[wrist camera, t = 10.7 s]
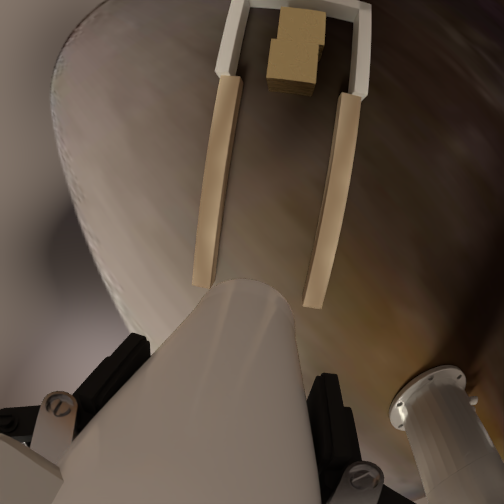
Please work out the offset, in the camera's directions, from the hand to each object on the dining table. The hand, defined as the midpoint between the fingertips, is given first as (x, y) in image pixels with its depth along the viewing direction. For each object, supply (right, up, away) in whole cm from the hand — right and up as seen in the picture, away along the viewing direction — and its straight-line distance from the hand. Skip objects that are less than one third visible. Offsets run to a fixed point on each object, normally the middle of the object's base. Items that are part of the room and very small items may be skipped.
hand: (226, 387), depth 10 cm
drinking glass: (+1, +1, +6) cm, 6 cm away
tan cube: (+6, +26, +12) cm, 29 cm away
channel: (+3, +11, +16) cm, 19 cm away
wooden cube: (+5, +22, +13) cm, 26 cm away
